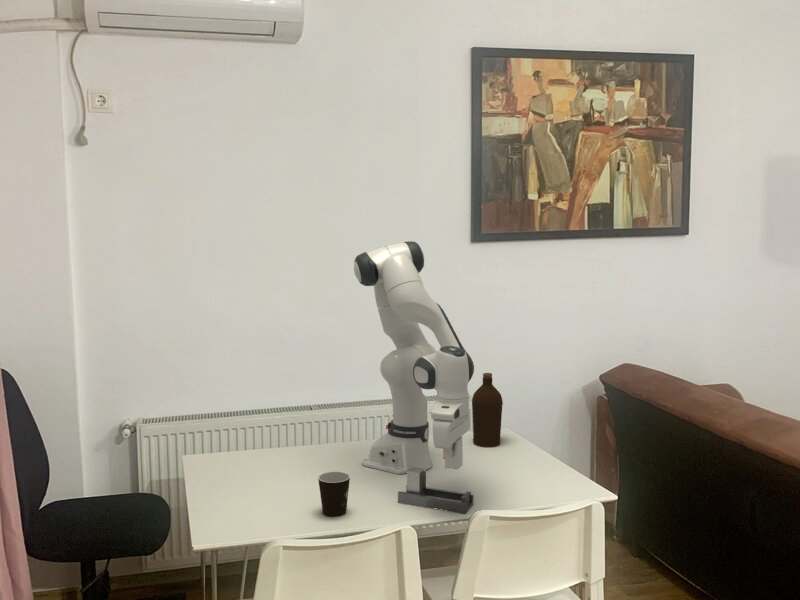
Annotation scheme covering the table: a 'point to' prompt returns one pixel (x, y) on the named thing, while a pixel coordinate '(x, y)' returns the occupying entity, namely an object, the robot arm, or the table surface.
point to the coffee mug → (334, 493)
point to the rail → (432, 494)
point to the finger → (454, 456)
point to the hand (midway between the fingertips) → (452, 455)
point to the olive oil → (487, 414)
